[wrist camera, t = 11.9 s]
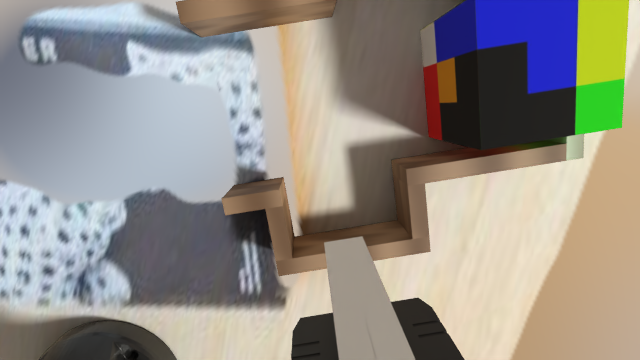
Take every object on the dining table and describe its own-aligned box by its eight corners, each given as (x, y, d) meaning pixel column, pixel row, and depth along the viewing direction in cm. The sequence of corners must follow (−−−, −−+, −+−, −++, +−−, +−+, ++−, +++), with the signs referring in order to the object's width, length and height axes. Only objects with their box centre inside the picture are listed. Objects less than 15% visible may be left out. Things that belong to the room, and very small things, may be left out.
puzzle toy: (420, 30, 30) (474, -7, 20) (525, 13, 30) (630, -31, 20) (428, 137, 32) (481, 150, 23) (526, 121, 32) (621, 127, 23)
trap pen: (250, 257, 34) (240, 282, 29) (179, -63, 28) (152, -99, 23) (542, 210, 34) (581, 227, 30) (542, -119, 28) (593, -167, 23)
